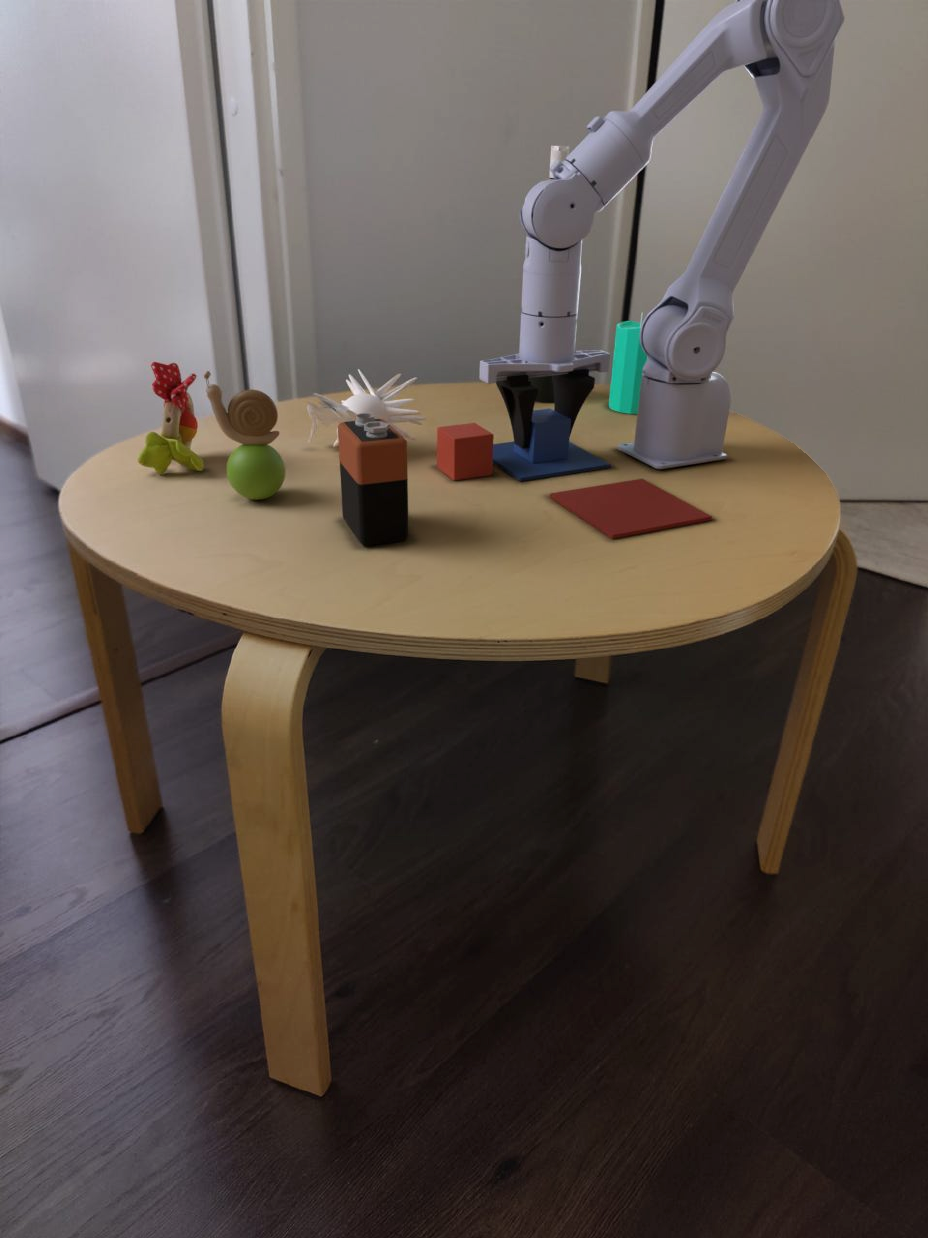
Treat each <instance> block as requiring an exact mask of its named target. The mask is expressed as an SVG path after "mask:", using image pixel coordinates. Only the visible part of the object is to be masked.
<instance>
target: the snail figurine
mask: <svg viewBox="0 0 928 1238" xmlns="http://www.w3.org/2000/svg"><path fill="white" fill-rule="evenodd" d="M211 376H212V374H211V372H210V370H205V372H204V373H203V378H204V379H205V382H206V388H205V392H206V397H207V399H208V400H209V402H210V404H211V409H212V412H213V415H214V417H215V419H216V420H215V421H216V422H217V424H218V427H219V428H220V429H221V431H222V433H223V434H224V435H225V436H226V437H227V438H229V439H231V440H232V441H234V442H236V443H238V444H240V445H239V446H237V447H236V448H235V449H234V450H233V451H232V452H231V453H230V455H229V457H228V459H227V462H226V476H227V480H228V482H229V484H230V486H231V487H232V488H233V490H234V491H235V492H236V493H237V494H239V495H240V496H242V497H244V498H246V499H250V500H258V501H259V500H265V499H268V498H270V497H272V496H274V495H275V494H276V493H277V492H278V491H280V489H281V487H282V486H283V484H284V481H285V478H286V466H285V462H284V460H283V458H282V456H281V454H280V453H279V451H277V450H276V449H275V448H274V447H273V446H271V445H270V444H271V443H273V442H274V441H275V440H276V439H277V438H278V437H279V436H280V433H281V432H280V431H279V430H273V429H274V428H275V426H276V425H277V422H278V418H279V414H278V408H277V406H276V403H275V402H274V400H273V399H272V398H271V396H269V395H268V394H266V393H265V392H263V391H261V390H258V389H251V388H250V389H244V390H241V391H238V392H237V393H236V394H235V395H234V396H233V397H232V398H231V399H230V401H229V403H228V405H227V409H226V406H225V403H224V401H223V390H222V388H221V387H220V386H219V385H217V384H214V383H212V384H210V381H209V379H210V377H211Z"/></svg>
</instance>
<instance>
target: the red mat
mask: <svg viewBox="0 0 928 1238" xmlns="http://www.w3.org/2000/svg"><path fill="white" fill-rule="evenodd" d="M549 498H550V499H551V500H553V501H554V502H556V503H558V504H559V505H561V506H562V507H563V508H565V509H566V510H568V511H569V512H571V513H572V514H574V515H575V516H577V517H579V518H580V519H581V520H583V521H584V522H586V523H588V524H589V525H591V527H594V528H595V529H596V530H598V531H600V532H601V533H602V534H604V535H606V536H607V537H608V538H610V539H611V540H615V539H619V538H625V537H629V536H635V535H640V534H647V533H651V532H656V531H661V530H667V529H673V528H677V527H683V526H687V525H693V524H698V523H703V522H708V521H712V518H713V516H712V515H710V514H709V513H707V512H705V511H703V510H701V509H700V508H697V507H695V506H693V505H692V504H690V503H688V502H686V501H685V500H682V499H681V498H678V497H677V496H675V495H673V494H671V493H669V492H668V491H666V490H664V489H662V488H660V487H658V486H657V485H655V484H653V483H651V482H649V481H647V480H645V479H644V478H637V479H632V480H626V481H619V482H613V483H606V484H600V485H595V486H587V487H581V488H576V489H569V490H564V491H557V492H551V493H549Z"/></svg>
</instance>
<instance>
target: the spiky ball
mask: <svg viewBox="0 0 928 1238" xmlns="http://www.w3.org/2000/svg"><path fill="white" fill-rule="evenodd" d="M357 372H358V373H359V375H360V377H361V379H362V381H363V383H364V384H365V386H366V388H367V390H368V392H369V393H367V392H366V391H365V390H364V388H363V387H362V386H361V384H360V383H359V382H358V381H357V379H356V378H355V377H353V375H352V374H350V373H349V374H348V378H349V379H345V382H346V384H347V386H348V388H349V389H350V391H351V393H352V394H353V395H352V396H350V397H348V398H347V399H346V400H345V399H344V400H341V403H339V402H337V401H335V400H333V399H330V398H328V397H326V396H324V395H322V394H319V393H316V392H314V393H313V396H314V397H315V398H317V399H318V400H319V401H317V403H318V404H319V405H320V406H319V405H317V404H315V403H313V402H311V401H307V403H308V404H307V405H306V409H307V412H308V415H309V417H310V419H311V420H310V421H311V429H310V434H309V438H308V441H307V444H311V442H312V440H313V438H314V436H315V434H316V432H317V431H318V427H319V425H318V424H319V422H320V423H321V424H322V425H323V426H324V427H326V428H328V427H331V426H334V425H335V424H340V423H341V422H348V421H356V415H357V414H361V413H370V414H373V415H374V419H383V420H385V421H386V422H387V423H388V424H389V425H390V426H391V427H392V428H394V429H395V430H396V431H397V432H398V433H399V434H400V435H401V436H402V437H403V438H404V439H408V440H412V441H413V440H415V439H416V438H415V436H413V435H411V434H410V433H408V432H407V431H405V430H403V429H402V428H400V427H398V426H397V425H395V424H398V423H411V424H416V425H420V426H422V425H423V424H422V423H421V422H420V421H424V420H426V419H427V417H425V416H418V415H419V414H421V411H419V410H417V409H416V410H415V409H407V408H399V407H402V406H406V405H408V404H410V403H413V402H414V401H415V398H402V399H395V398H396V397H397V396H398V395H399V394H401V393H402V392H403V391H404V390H406V389H407V388H408V387H409V386H411V385H412V384H413V383H415V382H416V380H418V377H413V378H411V379H409V380H407V381H405V382H403V383H402V384H400V385H398V386H397V387H395V388H393V389H391V390H390V391H388V390H389V389H390V388H391V387H392V386H393V385H394V384H395V383H396V382H397V380H398V379H399V378H400V377H401V376H402V374H401V373H398V374H396V375H395V376H393V377H392V378H391V379H390V380H388V381H387V382H386V383H384V384H383V385H382V386H381V387H380V388H379V389H377V390H376V391H375V389H374V388H373V386H372V385H371V384H370V382H369V380H368V379H367V378H366V376H365V375H364V373H363V372H362V371H361V370H360V369H359V368H357ZM387 391H388V392H387ZM336 435H337V436H336V437H337V438H336V440H335V441H334V443H333V445H332V446H333V448H336V447H337V446H339V440H338V427H337V428H336Z"/></svg>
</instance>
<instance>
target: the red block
mask: <svg viewBox="0 0 928 1238" xmlns="http://www.w3.org/2000/svg"><path fill="white" fill-rule="evenodd" d="M493 444H494V433H493V432H491V431H489V430H488V429H485V428H484V427H482V426H481V425H479V424H478V423H476V422H470V423H468V422H467V423H461V424H452V425H445V426H437V427H436V468H437V469H438V470H440V471H441V472H442V473H444V474H445V475H446V476H447V477H449V478H450V479H451V480H453V481H460V480H467V479H474V478H475V479H476V478H481V477H488V476H493V463H492V461H493Z"/></svg>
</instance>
